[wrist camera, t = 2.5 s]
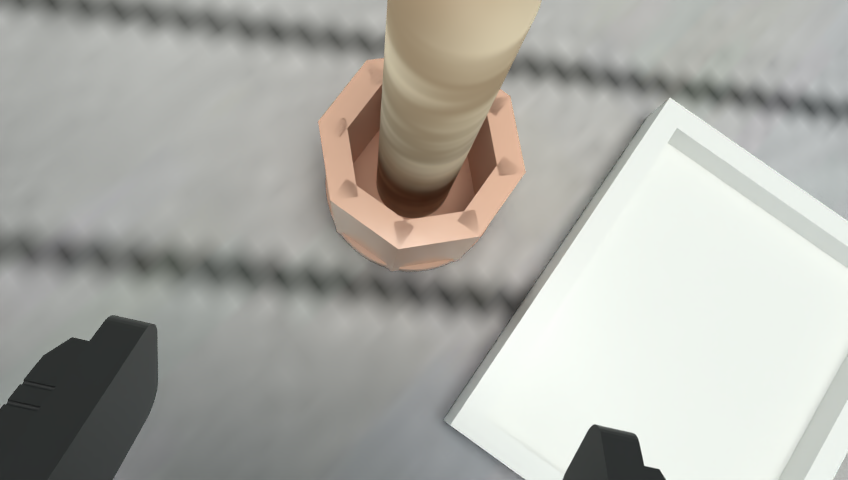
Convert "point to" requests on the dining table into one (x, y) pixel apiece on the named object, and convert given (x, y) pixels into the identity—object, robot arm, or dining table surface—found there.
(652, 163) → the tray
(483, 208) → the holder cup
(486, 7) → the wooden pin
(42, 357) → the robot arm
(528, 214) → the dining table surface
